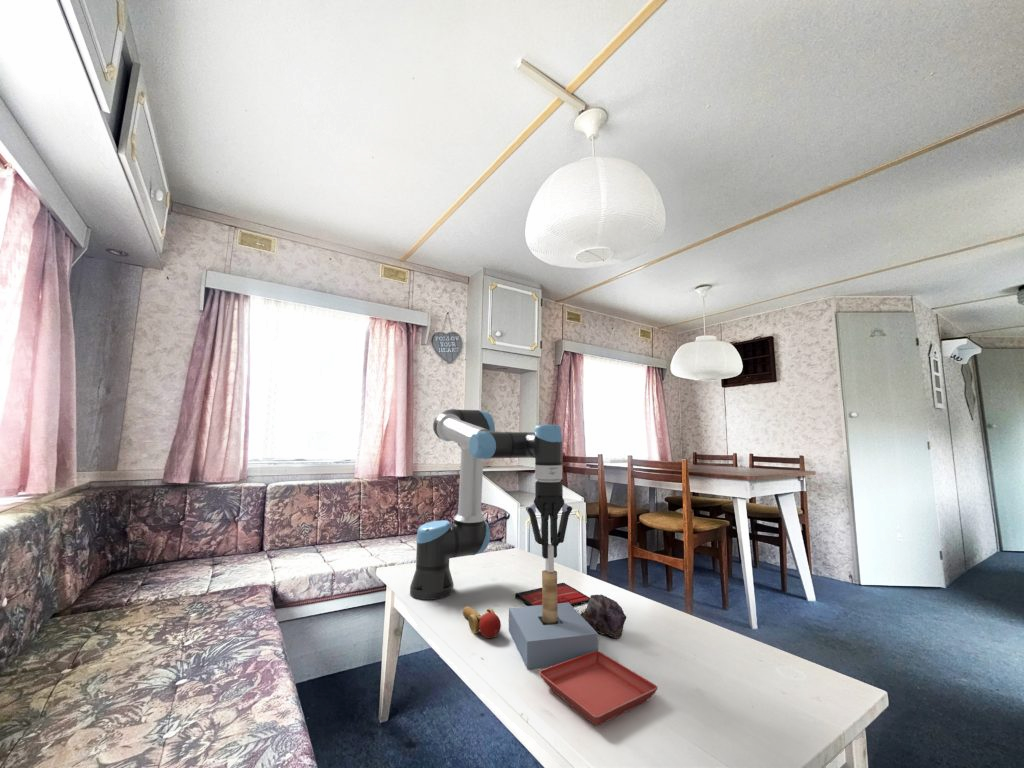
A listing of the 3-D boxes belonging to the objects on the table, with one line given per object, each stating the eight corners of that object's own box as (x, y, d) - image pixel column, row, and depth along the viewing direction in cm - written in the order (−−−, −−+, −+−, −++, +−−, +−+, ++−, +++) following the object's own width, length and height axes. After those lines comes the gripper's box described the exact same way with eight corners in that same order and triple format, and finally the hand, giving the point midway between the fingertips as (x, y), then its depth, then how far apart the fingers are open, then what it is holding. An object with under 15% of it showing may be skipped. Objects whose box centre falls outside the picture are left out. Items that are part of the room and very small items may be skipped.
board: (508, 630, 114) (508, 607, 115) (569, 624, 118) (568, 602, 119) (527, 669, 95) (527, 641, 96) (598, 660, 99) (598, 633, 100)
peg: (540, 641, 108) (539, 570, 111) (555, 639, 109) (554, 569, 111) (545, 649, 104) (544, 575, 106) (560, 647, 105) (559, 573, 107)
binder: (515, 592, 138) (563, 581, 149) (514, 599, 138) (563, 588, 149) (543, 611, 125) (593, 597, 136) (542, 619, 124) (593, 605, 135)
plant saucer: (597, 663, 98) (597, 648, 99) (660, 703, 83) (659, 685, 84) (537, 687, 88) (537, 671, 89) (596, 738, 73) (596, 717, 74)
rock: (612, 648, 107) (631, 634, 114) (616, 616, 107) (633, 604, 114) (576, 627, 115) (595, 615, 122) (578, 597, 115) (597, 587, 122)
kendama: (453, 625, 121) (480, 641, 106) (456, 601, 123) (483, 613, 108) (476, 624, 124) (505, 640, 109) (478, 601, 126) (508, 613, 112)
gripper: (529, 482, 107) (530, 576, 104) (576, 481, 110) (577, 573, 107) (522, 479, 114) (522, 567, 111) (566, 479, 117) (567, 564, 114)
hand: (549, 570), depth 109 cm, fingers closed
